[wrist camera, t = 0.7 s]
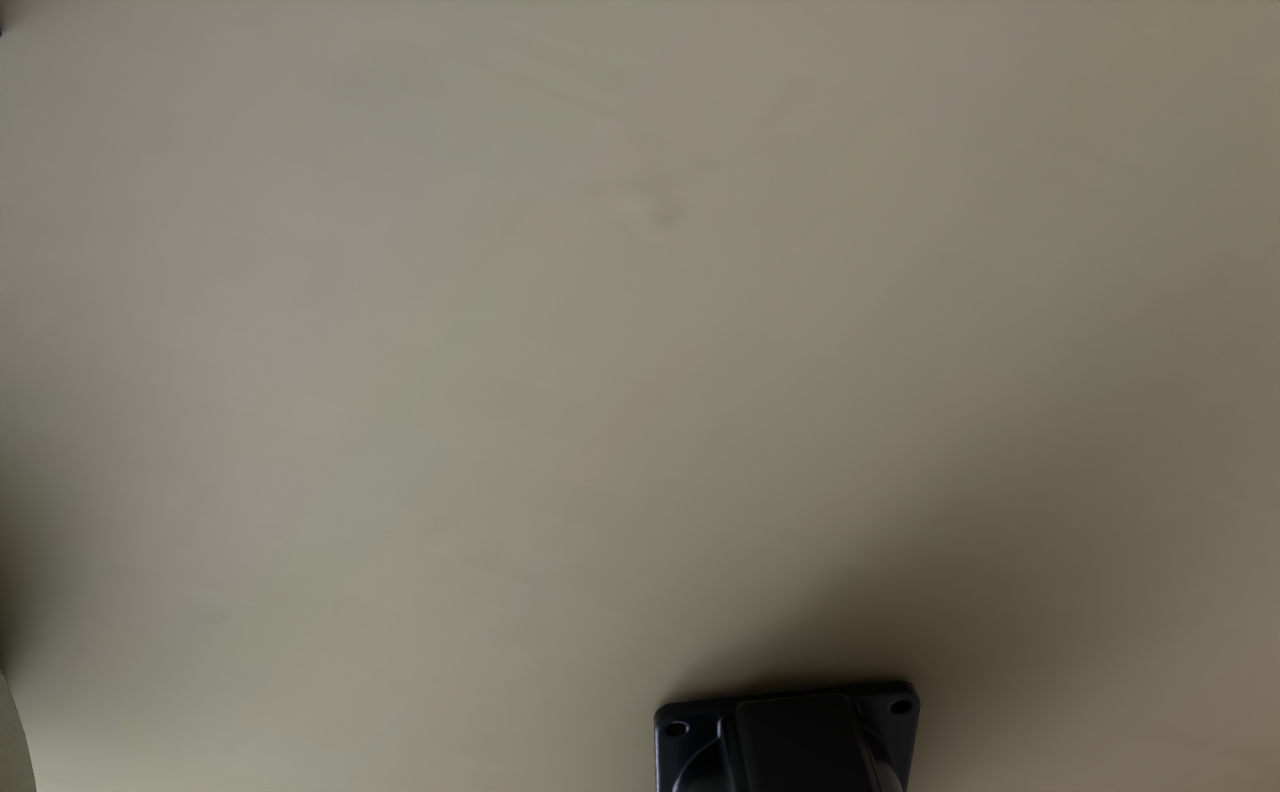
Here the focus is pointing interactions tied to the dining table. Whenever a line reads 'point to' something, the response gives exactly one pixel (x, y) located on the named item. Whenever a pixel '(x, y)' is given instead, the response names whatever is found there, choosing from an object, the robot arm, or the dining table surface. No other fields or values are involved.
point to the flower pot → (13, 747)
